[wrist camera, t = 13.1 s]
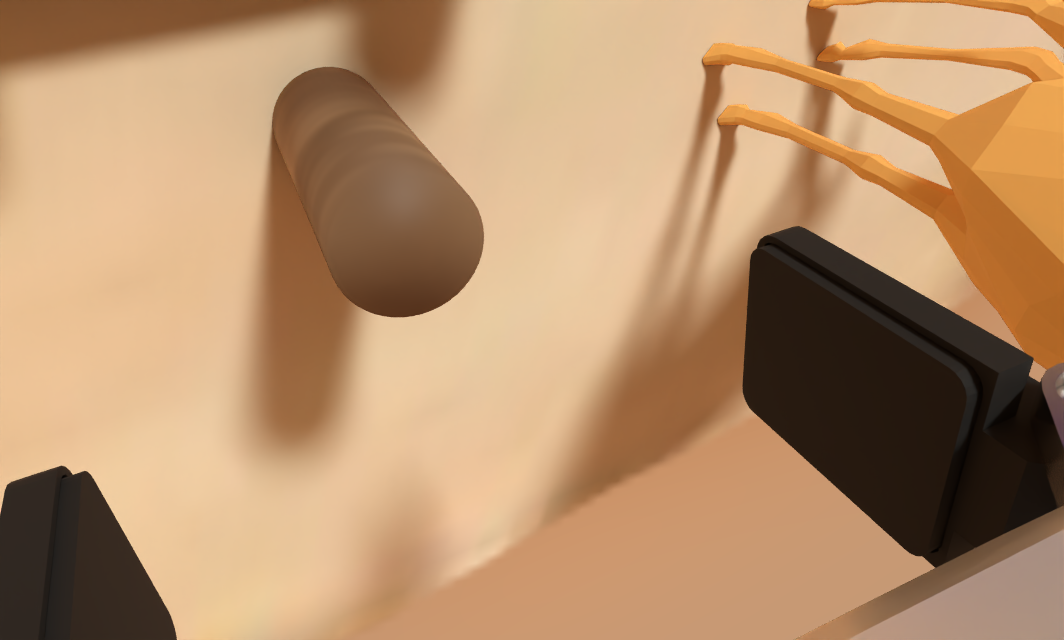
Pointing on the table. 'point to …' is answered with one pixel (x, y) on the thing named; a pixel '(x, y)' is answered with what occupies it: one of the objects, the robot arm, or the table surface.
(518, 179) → the table surface
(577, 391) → the table surface
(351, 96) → the leg peg
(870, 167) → the giraffe
